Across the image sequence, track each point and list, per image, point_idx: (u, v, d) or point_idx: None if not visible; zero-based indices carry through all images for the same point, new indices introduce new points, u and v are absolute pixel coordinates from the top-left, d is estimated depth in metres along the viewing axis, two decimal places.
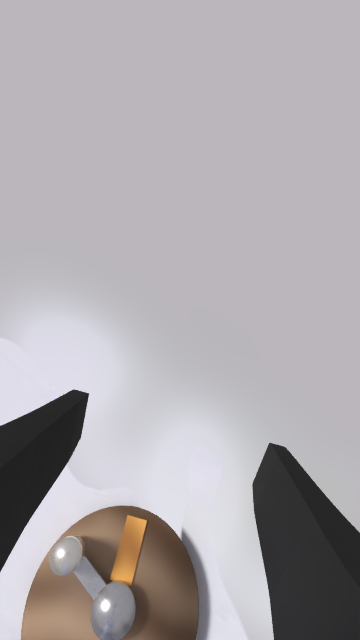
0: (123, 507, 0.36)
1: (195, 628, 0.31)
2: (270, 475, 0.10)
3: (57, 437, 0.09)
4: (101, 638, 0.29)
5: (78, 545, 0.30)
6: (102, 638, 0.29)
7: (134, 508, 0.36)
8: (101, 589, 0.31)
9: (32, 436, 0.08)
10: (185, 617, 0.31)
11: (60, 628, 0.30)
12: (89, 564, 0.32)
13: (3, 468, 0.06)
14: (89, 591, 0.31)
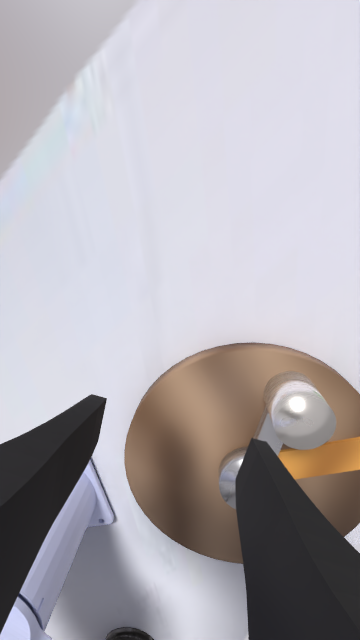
0: None
1: None
2: (251, 470, 0.10)
3: (79, 443, 0.09)
4: (220, 486, 0.20)
5: (329, 435, 0.15)
6: (221, 487, 0.20)
7: None
8: None
9: (58, 443, 0.08)
10: None
11: (197, 421, 0.20)
12: None
13: (34, 477, 0.06)
14: None
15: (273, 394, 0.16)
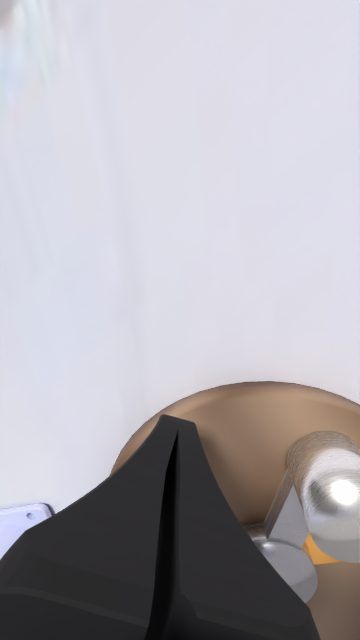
0: None
1: None
2: (172, 448, 0.10)
3: None
4: None
5: None
6: None
7: None
8: (289, 545, 0.14)
9: (162, 472, 0.08)
10: None
11: None
12: None
13: (160, 511, 0.06)
14: (276, 528, 0.14)
15: (305, 470, 0.11)
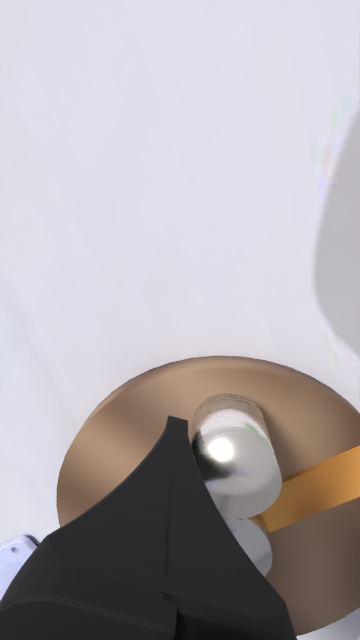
0: None
1: (305, 631, 0.17)
2: None
3: None
4: None
5: (277, 490, 0.10)
6: None
7: None
8: None
9: (175, 475, 0.08)
10: (305, 614, 0.17)
11: None
12: None
13: (176, 516, 0.06)
14: None
15: (191, 438, 0.11)
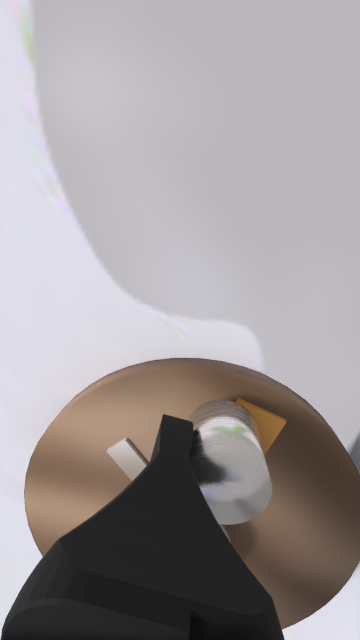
0: (230, 380, 0.13)
1: (336, 589, 0.16)
2: (155, 444, 0.10)
3: None
4: None
5: (264, 504, 0.10)
6: None
7: (258, 388, 0.13)
8: None
9: (182, 477, 0.08)
10: (322, 574, 0.16)
11: None
12: None
13: (184, 518, 0.06)
14: None
15: None
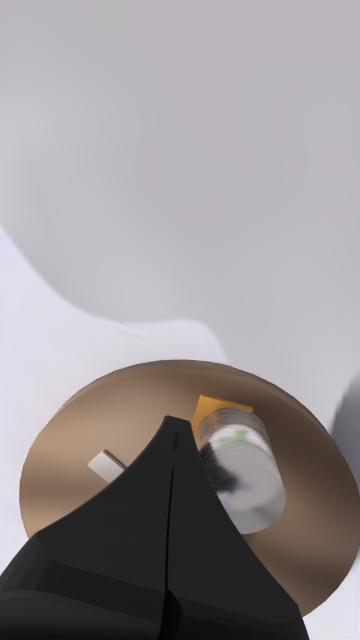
0: (188, 377, 0.13)
1: (344, 571, 0.16)
2: None
3: None
4: None
5: (275, 517, 0.10)
6: None
7: (218, 381, 0.13)
8: None
9: (168, 473, 0.08)
10: (326, 557, 0.15)
11: None
12: None
13: (167, 513, 0.06)
14: None
15: (201, 443, 0.11)
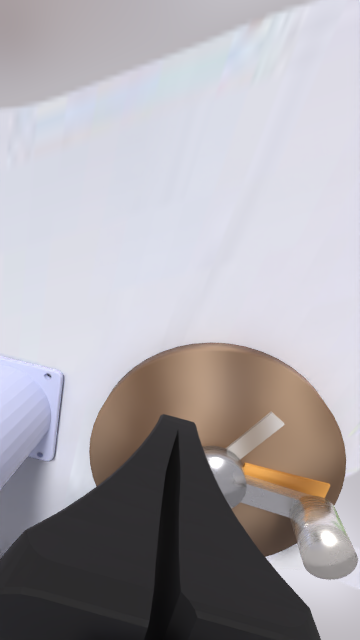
0: (341, 477, 0.20)
1: None
2: (172, 448, 0.10)
3: None
4: (213, 459, 0.19)
5: (315, 574, 0.17)
6: (211, 460, 0.19)
7: (337, 492, 0.21)
8: (242, 495, 0.20)
9: (162, 472, 0.08)
10: None
11: (191, 405, 0.20)
12: (275, 511, 0.20)
13: (160, 511, 0.06)
14: (258, 489, 0.20)
15: (336, 520, 0.18)
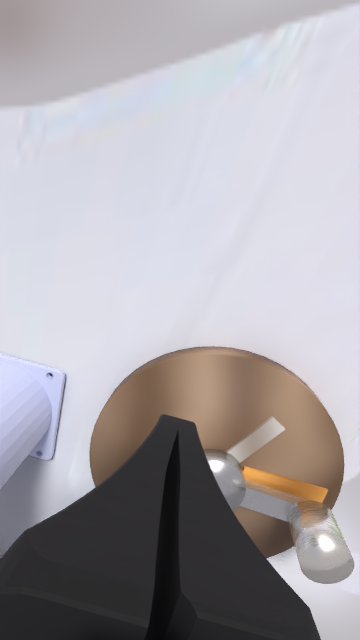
0: (339, 483, 0.21)
1: None
2: (172, 448, 0.10)
3: None
4: (214, 462, 0.19)
5: (312, 578, 0.18)
6: (212, 463, 0.19)
7: (334, 498, 0.21)
8: (241, 499, 0.20)
9: (162, 472, 0.08)
10: None
11: (193, 408, 0.20)
12: (273, 515, 0.20)
13: (160, 511, 0.06)
14: (257, 493, 0.20)
15: (334, 525, 0.18)
